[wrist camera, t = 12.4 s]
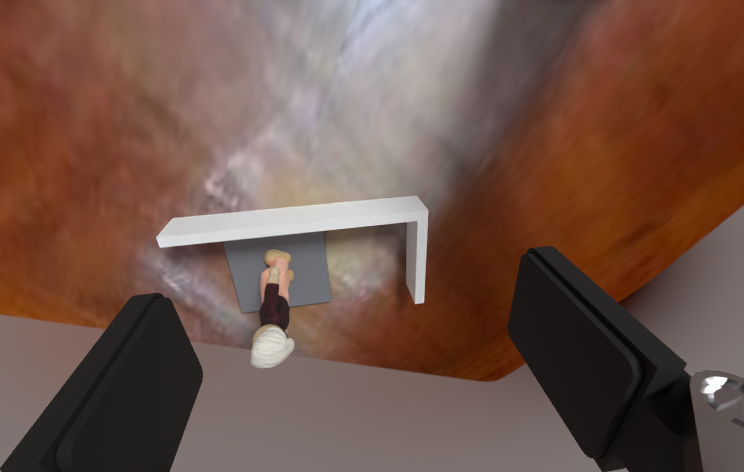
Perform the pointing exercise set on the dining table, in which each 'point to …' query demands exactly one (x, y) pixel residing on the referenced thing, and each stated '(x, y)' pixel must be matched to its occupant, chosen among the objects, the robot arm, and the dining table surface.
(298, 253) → the slate mat
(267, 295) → the grandmother figurine
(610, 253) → the dining table surface
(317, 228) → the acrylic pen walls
